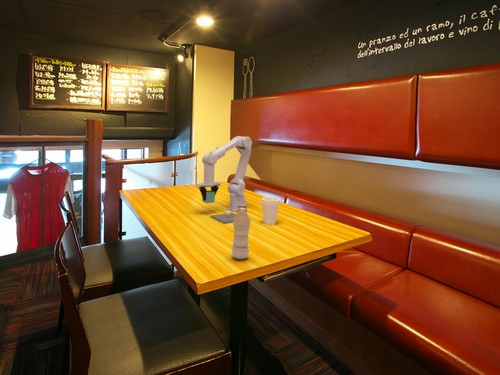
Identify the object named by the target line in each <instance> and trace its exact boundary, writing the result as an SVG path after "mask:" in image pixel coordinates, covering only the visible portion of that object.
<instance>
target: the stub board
mask: <svg viewBox="0 0 500 375" xmlns="http://www.w3.org/2000/svg"><path fill="white" fill-rule="evenodd" d="M236 214H237V213H234V212H233V211H231V210H229V209H227V210H226V213H219V214H212V215H210V216H209V217H210V218H211V219H213V220H216V221H217V222H219V223H220V224H223V225H226V224H233V219H234V217H235V216H236Z"/></svg>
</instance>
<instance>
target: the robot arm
mask: <svg viewBox="0 0 500 375" xmlns="http://www.w3.org/2000/svg"><path fill="white" fill-rule="evenodd" d="M252 146H253V141H252V139H251V137H250V136H240V135H236V136H235V137H233V138H232V139H231V140H230V141H229V142H227V143H225V145H223V146H216V147H215V149H213V150H212V151H211V150H210V151H209V153H205V154H204V155H203V156H202V158H201V161H202V162H201V163H203V182H202V183H201V182H200V183H196V185H195V188H197V189H198V190H199V191H200V194H201V198H203V200H206V191H208V189H207V188H209V187H210V190H211V191H213V192H215V196H216V195H217V192H218V191H219V187H221V185H222V183H221V182H219V181H218V182H217V181H216V182H215V165H216V164H217V162H218V160H220V159H221V158H223V157H224V156H226V153H227V152H229V151H230V150H232V149H234V148H235V147H236V148H237V150H239V152H240V157H239V160H238V164H237V168H236V171H235V174H234V178H232V179H231V180H230V183H229V184H228V186H227V191H228V193H229V207H226V209H227V210H230V211H231V212H237V207H238V206H246V207H247V198H246V195H245V194H244V193H245V191H246V183H245V181H244V179H245V174H246V171H247V168H248V164H249V161H250V159H251V158H250V157H251V154H252Z"/></svg>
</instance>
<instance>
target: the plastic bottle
mask: <svg viewBox="0 0 500 375" xmlns="http://www.w3.org/2000/svg"><path fill="white" fill-rule="evenodd" d="M236 212H237V213H235V214H236V216H235V217H234V219H233V223H232V225H233V242H232V246H231V256H232V257H233V259H235V260H245V259H247V258H248V257H249V254H250V248H249V232H250V228H251V221H252V220H251V218H250V216H249V215H248V214H247V213H248V206H247V205H246V206H238V207H237V211H236Z"/></svg>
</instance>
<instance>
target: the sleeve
mask: <svg viewBox="0 0 500 375" xmlns="http://www.w3.org/2000/svg"><path fill="white" fill-rule="evenodd" d="M201 198H202V197H201ZM215 198H216V195H215V192H213V191H211V189H210V190H207V191H206V200H203V198H202V202H203V203H205V204H211V203H212V204H214V203H216V202H215Z"/></svg>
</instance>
